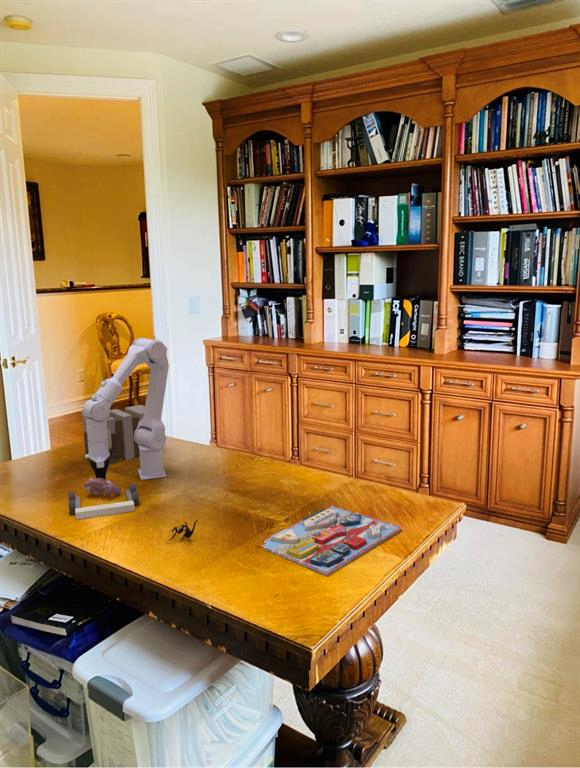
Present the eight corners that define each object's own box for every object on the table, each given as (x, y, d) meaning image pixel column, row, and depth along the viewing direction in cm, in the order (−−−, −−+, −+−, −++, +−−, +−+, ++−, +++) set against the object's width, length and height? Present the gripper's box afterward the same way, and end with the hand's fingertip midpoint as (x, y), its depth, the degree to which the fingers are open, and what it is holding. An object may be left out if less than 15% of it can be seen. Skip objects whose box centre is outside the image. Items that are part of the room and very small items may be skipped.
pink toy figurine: (87, 499, 182) (79, 483, 178) (95, 488, 185) (87, 471, 181) (116, 503, 179) (108, 486, 175) (123, 491, 182) (116, 475, 178)
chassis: (69, 502, 176) (68, 490, 175) (135, 493, 182) (134, 481, 182) (69, 520, 164) (68, 508, 163) (140, 510, 170) (139, 498, 169)
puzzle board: (331, 509, 170) (331, 500, 170) (402, 532, 155) (402, 523, 154) (253, 547, 148) (252, 537, 148) (326, 579, 133) (326, 568, 132)
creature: (160, 545, 151) (182, 546, 147) (155, 524, 151) (178, 524, 146) (182, 533, 158) (204, 534, 153) (177, 513, 157) (200, 513, 153)
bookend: (164, 453, 220) (161, 409, 217) (97, 468, 205) (93, 422, 201) (144, 443, 232) (141, 401, 229) (79, 457, 217) (75, 413, 213)
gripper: (83, 434, 187) (86, 476, 190) (84, 448, 173) (88, 493, 176) (107, 432, 189) (110, 473, 192) (110, 445, 176) (113, 490, 178)
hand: (101, 483), depth 184 cm, fingers closed
